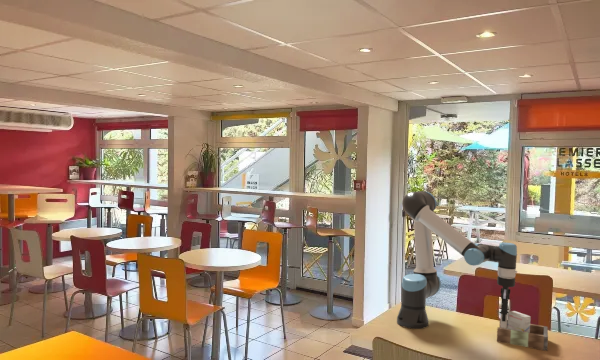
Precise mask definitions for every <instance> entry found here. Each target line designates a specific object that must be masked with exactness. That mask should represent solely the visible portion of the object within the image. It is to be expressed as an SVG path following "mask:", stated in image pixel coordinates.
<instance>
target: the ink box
mask: <svg viewBox="0 0 600 360" xmlns="http://www.w3.org/2000/svg"><path fill="white" fill-rule="evenodd" d="M531 317H532V316H530V315H528V314H525V313H521V312H519V311H516V310H511V311H508V313H507V329H511V330H517V331H522V332H528V333H530V324H531V320H532V318H531Z"/></svg>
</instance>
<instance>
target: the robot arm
mask: <svg viewBox="0 0 600 360" xmlns="http://www.w3.org/2000/svg"><path fill="white" fill-rule="evenodd" d="M401 204H402V209H403V211H404V212H405V213H406V214H407V215H408V216H409V217H410V219H411V220H412V221H413V226H414V227H413V228H414V229H413V230H414V232H413V233H414V247H415V249H414V251H415V265H416V266H415V268H414V269H413V273H410V274H409V273H408V274H406V275H404V276H403V277H402V280H401V296H400V297H401V299H400V300H401V302H400V309H399V311H398V314H397V317H396V323H397V324H398V325H399V326H401V327H404V328H407V329H413V330H414V329H416V330H417V329H419V330H420V329H425V328H426V329H427V328H428V327H429V317H428V315H427V314H428V313H427V310H426V305H427V304H426V303H427V302H426V301H427V299H429V298H430V297H433V296H435V295H436V294H437V293H438V292H439V291H440V289H441V286H442V284H441V283H442V282H441V279H440V277H439V275H438V273H437V269H436V268H435V266H434V255H433V253H434V252H433V251H434V250H433V234H432V233H434V234H435V235H436V236H437V237H438V238H440V239H441V240H442V241H444V242H445V243H446V244H447V245H448V246H450V247H451V248H452V249H453V250H454V251H456V252H457V253H459V254H460V255H461V256H462V257H463V258H464V262H465V263H466V264H468V265H469V266H479V265H482V263H485V262H491V263H492V262H493V263H497V280H496V284H497V285H498V286H501V287H502V288H500V300H501V302H500V303H501V305H500V307H501V309H500V311H499V312H498V313H499V314H500V319H501V321H500V320H499V325H500V327H501V328H506V329H507V320H508V312H509V311H508V310H509V300H510V295H511V289H510V288H513V287H516V275H517V273H518V271H517V269H516V268H517V259H518V257H517V256H518V247H517V244H515V243H513V242H505V241H504V242H500V243H499V245H492V244H485V243H477V242H475V243H473V242H472V241H471V240H470V239H469V238H468V237H466V236H464V234H462V233H461V232H460V231H459V230H457V229H456V228H454V227H453V226H452V225H451V224H450V223H448V222H446V221H445V220H444V219H443V218H441V216H439V215H438V214H437V213H435V209H436V208H437V199H436V197H435V196H434V194H432V193H431V192H429V191H425V190H420V191H410V192H408V193H406V194H405V195H404V196H403V199H402V202H401Z"/></svg>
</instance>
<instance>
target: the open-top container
mask: <svg viewBox="0 0 600 360" xmlns="http://www.w3.org/2000/svg"><path fill="white" fill-rule="evenodd" d="M500 321H501V318H499V322H500ZM496 330H497V331H496V342H497V343H505V344H509V345H514V346H520V347H523V348H530V349H534V350H535V349H536V350H539V351H545V350H546V351H545V352H548V345H549V343H548V342H549V333H548V330H549V327H548V326H545V325H540V324H534V323H530V333H528V332H522V331H517V330H511V329H506V328H501V327H500V324H499V327H497V328H496Z"/></svg>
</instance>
